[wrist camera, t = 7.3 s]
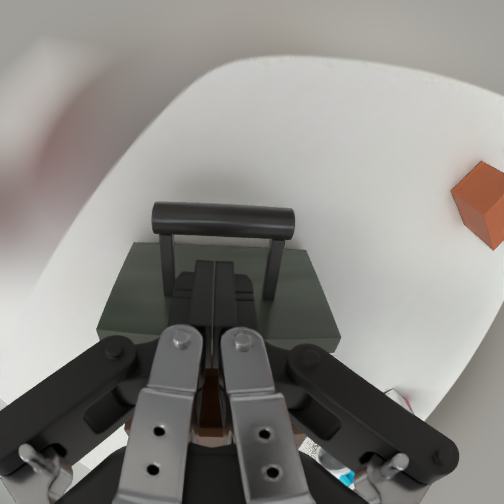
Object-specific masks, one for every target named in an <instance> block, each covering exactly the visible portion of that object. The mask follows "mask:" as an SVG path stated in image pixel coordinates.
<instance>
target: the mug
mask: <svg viewBox="0 0 504 504" xmlns="http://www.w3.org/2000/svg"><path fill="white" fill-rule="evenodd" d="M315 460H316V461H317V462H318V463H320V464H321V465H322V466H323V467H324V468H325V469H327V470H328V471H329V472H330V473H331V474H333V475H334V476H335V477H336V478H338V479H339V480H340V481H341V482H342V483H344V484H345V485H346V486H347V487H349V486H350V485H351V484H352V483H353V478H354V474H355V473H354V472H352V471H351V470H350V469H348V468H347V467H346V466H344V465H343V464H342V463H340V462H339V461H338V460H337V459H335V458H334V457H333V456H331V455H330V454H329V453H328V452H326V451H325V450H324V449H322V448H321V447H320V446H318V448H317V450H316V454H315Z"/></svg>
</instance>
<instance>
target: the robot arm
mask: <svg viewBox="0 0 504 504" xmlns="http://www.w3.org/2000/svg"><path fill="white" fill-rule="evenodd" d="M213 273H214V260H199V259H196V264H195V272H188V271H182V272H181V273H180V275H179V276H178V277H177V278H176V280H175V285H174V290H173V296H172V301H171V307H170V312H169V318H168V324H167V328H166V329H165V330H164V331H163V332H162V333H161V335H160V337H159V338H157V339H155V340H153V341H150V342H146V343H141V344H135V345H134V343H133V342H132V341H131V340H130V339H129V338H127V337H125V336H121V335H112V336H108V337H106V338H104V339H102V340H101V341H99V342H98V343H96V344H95V345H93V346H92V347H91V348H89V349H88V350H86V351H85V352H83V353H82V354H80V355H79V356H78V357H76V358H75V359H73V360H72V361H70V362H69V363H67V364H66V365H65V366H63V367H62V368H60V369H59V370H57V371H56V372H55V373H53V374H52V375H50V376H49V377H47V378H46V379H45V380H43V381H42V382H40V383H39V384H37V385H36V386H35V387H33V388H32V389H30V390H29V391H28V392H26V393H25V394H23V395H22V396H20V397H19V398H18V399H16V400H15V401H13V402H12V403H11V404H9V405H8V406H6V407H5V408H4V409H2V410H1V411H0V479H1V480H2V482H3V483H4V485H5V487H6V488H7V490H8V492H9V493H10V495H11V496H12V498H13V499H14V501H15V502H16V504H419V503H420V502H421V500H422V499H423V497H424V495H425V494H426V492H427V490H428V489H429V487H430V485H431V484H432V483H434V482H435V481H437V480H439V479H441V478H442V477H444V476H446V475H448V474H449V473H451V472H452V471H453V470H454V469H455V468H456V467H457V464H458V461H459V452H458V448H457V446H456V445H455V443H454V442H453V441H452V440H450V439H449V438H447V437H446V436H444V435H443V434H442V433H440V432H439V431H437V430H436V429H434V428H433V427H431V426H430V425H428V424H427V423H425V422H424V421H422V420H421V419H420V418H418V417H417V416H415V415H414V414H412V413H411V412H409V411H408V410H407V409H405V408H404V407H402V406H401V405H399V404H398V403H397V402H395V401H394V400H392V399H391V398H390V397H388V396H387V395H385V394H384V393H383V392H381V391H380V390H378V389H377V388H376V387H374V386H373V385H371V384H370V383H369V382H367V381H366V380H364V379H363V378H362V377H360V376H359V375H358V374H356V373H355V372H354V371H352V370H351V369H349V368H348V367H347V366H345V365H344V364H343V363H341V362H340V361H339V360H337V359H336V358H335V357H333V356H332V355H331V354H329V353H328V352H327V351H325V350H324V349H322V348H321V347H319V346H317V345H314V344H309V343H304V344H299V345H297V346H295V347H293V348H292V349H291V350H287V349H283V348H279V347H276V346H273V345H271V344H269V343H268V342H267V341H265V340H264V339H263V338H262V336H261V335H260V333H259V329H258V321H257V314H256V306H255V298H254V291H253V283H252V281H251V280H250V279H249V277H248V276H247V275H246V274H234V261H220V260H216V262H215V282H214V308H213V368H218V391H219V400H220V409H221V417H222V426H223V438H224V445H223V446H219V447H206V446H203V445H199V444H198V443H199V424H200V414H201V405H202V396H203V384H204V382H205V368H211V340H212V303H213ZM131 417H133V420H132V424H131V428H130V433H129V437H128V442H127V446H124V447H122V448H120V449H118V450H116V451H115V452H113V453H112V454H110V455H109V456H108V457H107V458H106V459H104V460H103V461H102V462H101V463H100V464H99V465H98V466H97V467H95V468H94V469H93V470H92V471H91V472H90V473H89V474H88V475H86V476H85V477H84V478H83V479H82V480H81V481H79V482H78V483H77V484H76V485H75V486H74V487H72V488H71V489H70V490H69V491H68V492H66V493H65V494H64V492H65V491H66V489H67V488H68V487H69V486H70V485H71V483H72V480H73V471H72V467H71V466H72V465H74V464H75V463H76V462H78V461H79V460H80V459H81V458H83V457H84V456H85V455H86V454H88V453H89V452H90V451H91V450H93V449H94V448H95V447H96V446H98V445H99V444H100V443H101V442H103V441H104V440H105V439H106V438H107V437H109V436H110V435H111V434H112V433H114V432H115V431H116V430H117V429H118V428H120V427H121V426H122V425H123V424H124V423H126V422H127V421H128V420H129V419H130V418H131ZM291 423H292V424H293V425H295V426H296V427H297V428H298V429H299V430H300V431H302V432H303V433H304V434H305V435H306V436H308V437H309V438H310V439H311V440H313V441H314V442H315V443H316V444H317V445H319V446H320V447H321V448H322V449H324V450H325V451H326V452H328V453H329V454H330V455H331V456H333V457H334V458H335V459H337V460H338V461H339V462H340V463H342V464H343V465H344V466H346V467H347V468H348V469H350V470H351V471H352V472H354V473H355V474H354V478H353V483H354V486H355V488H356V490H357V491H358V492H359V493H360V494H361V495H362V496H363V497H364V499H363V498H362V497H360V496H359V495H358V494H356V493H355V492H354V491H353V490H351V489H350V488H349V487H347V486H346V485H345V484H344V483H342V482H341V481H340V480H339V479H338V478H336V477H335V476H334V475H333V474H331V473H330V472H329V471H328V470H327V469H325V468H324V467H323V466H322V465H321V464H320V463H318V462H317V461H316V460H315V459H313V458H312V457H310V456H309V455H307V454H305V453H303V452H301V451H299V450H298V448H297V444H296V440H295V436H294V432H293V429H292V425H291Z"/></svg>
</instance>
